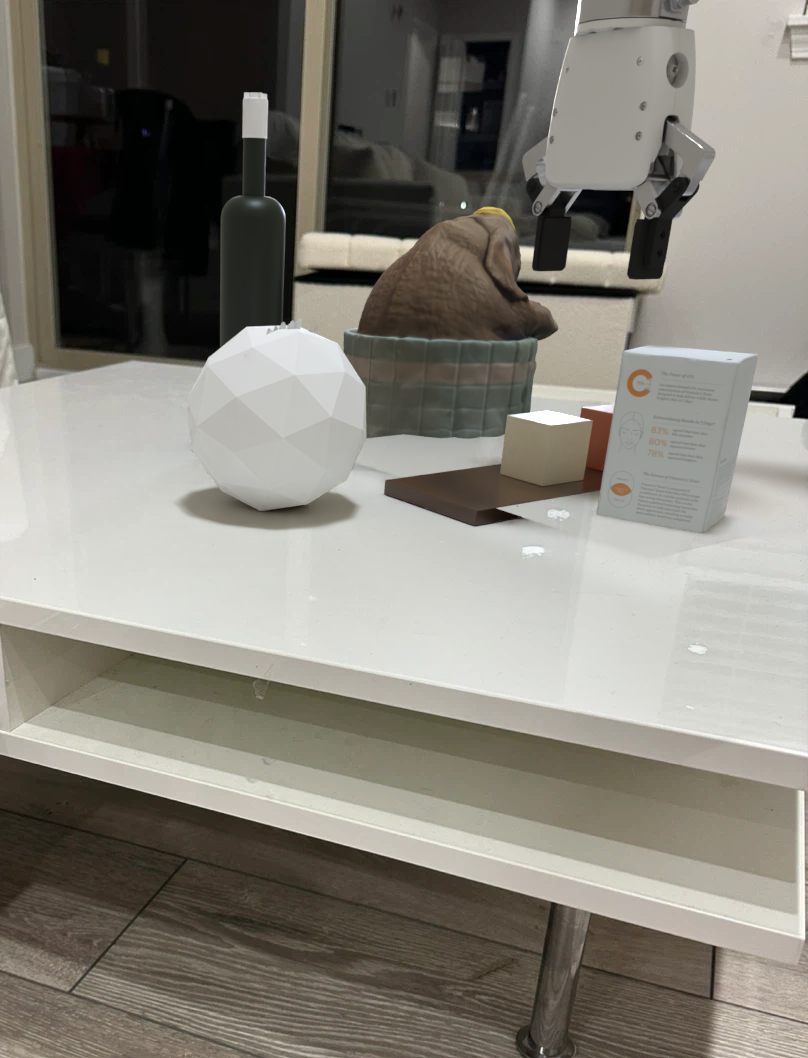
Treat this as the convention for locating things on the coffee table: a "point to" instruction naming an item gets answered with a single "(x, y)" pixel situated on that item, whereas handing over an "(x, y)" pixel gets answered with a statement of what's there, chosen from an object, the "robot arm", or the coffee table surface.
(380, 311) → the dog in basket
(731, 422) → the small box
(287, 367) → the geodesic sphere
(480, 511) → the dark brown board
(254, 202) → the wine bottle
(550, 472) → the beige block
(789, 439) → the coffee table surface
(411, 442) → the coffee table surface
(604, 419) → the terracotta cube
